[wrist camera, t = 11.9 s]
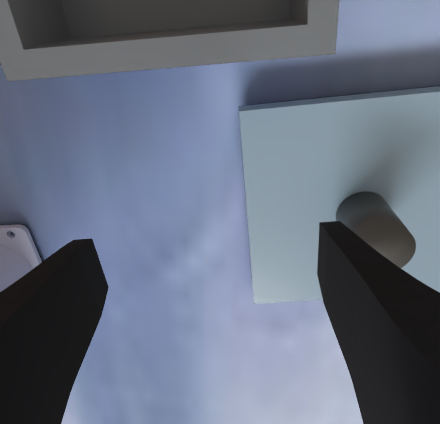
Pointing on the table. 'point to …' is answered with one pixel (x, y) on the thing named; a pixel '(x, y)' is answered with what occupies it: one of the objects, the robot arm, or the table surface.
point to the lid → (341, 184)
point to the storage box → (157, 34)
